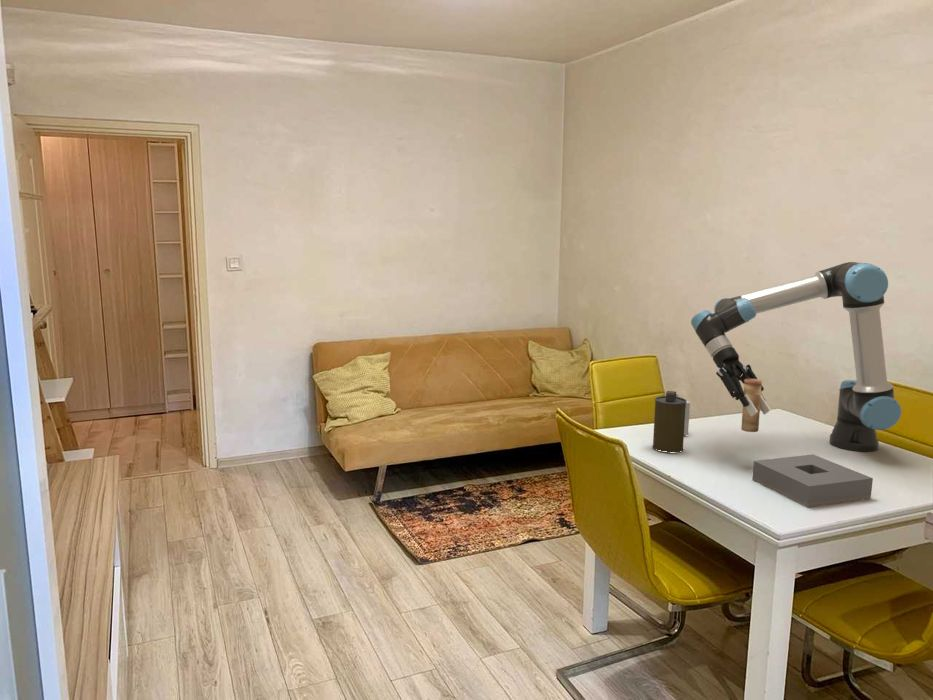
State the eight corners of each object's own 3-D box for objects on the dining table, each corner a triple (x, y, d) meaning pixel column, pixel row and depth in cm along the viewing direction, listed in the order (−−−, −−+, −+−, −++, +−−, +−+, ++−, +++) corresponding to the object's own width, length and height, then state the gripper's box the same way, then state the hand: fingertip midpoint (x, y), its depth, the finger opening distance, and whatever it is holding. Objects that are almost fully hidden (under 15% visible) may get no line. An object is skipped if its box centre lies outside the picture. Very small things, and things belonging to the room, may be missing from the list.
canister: (681, 455, 236) (685, 396, 233) (650, 451, 240) (653, 393, 237) (685, 446, 246) (688, 389, 243) (654, 442, 250) (657, 387, 247)
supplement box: (688, 436, 257) (690, 402, 255) (668, 436, 257) (669, 402, 255) (682, 430, 265) (684, 397, 262) (662, 430, 265) (664, 397, 263)
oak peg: (751, 427, 227) (754, 378, 224) (761, 431, 222) (765, 381, 219) (737, 428, 225) (741, 379, 222) (748, 432, 221) (751, 382, 218)
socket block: (811, 472, 220) (813, 454, 219) (870, 498, 199) (872, 478, 198) (752, 479, 213) (753, 460, 212) (807, 507, 193) (809, 486, 192)
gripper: (735, 357, 238) (773, 415, 226) (695, 361, 230) (732, 423, 218) (749, 343, 232) (788, 403, 221) (709, 348, 224) (747, 410, 212)
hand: (760, 413), depth 219 cm, fingers closed on oak peg, 5 cm apart
